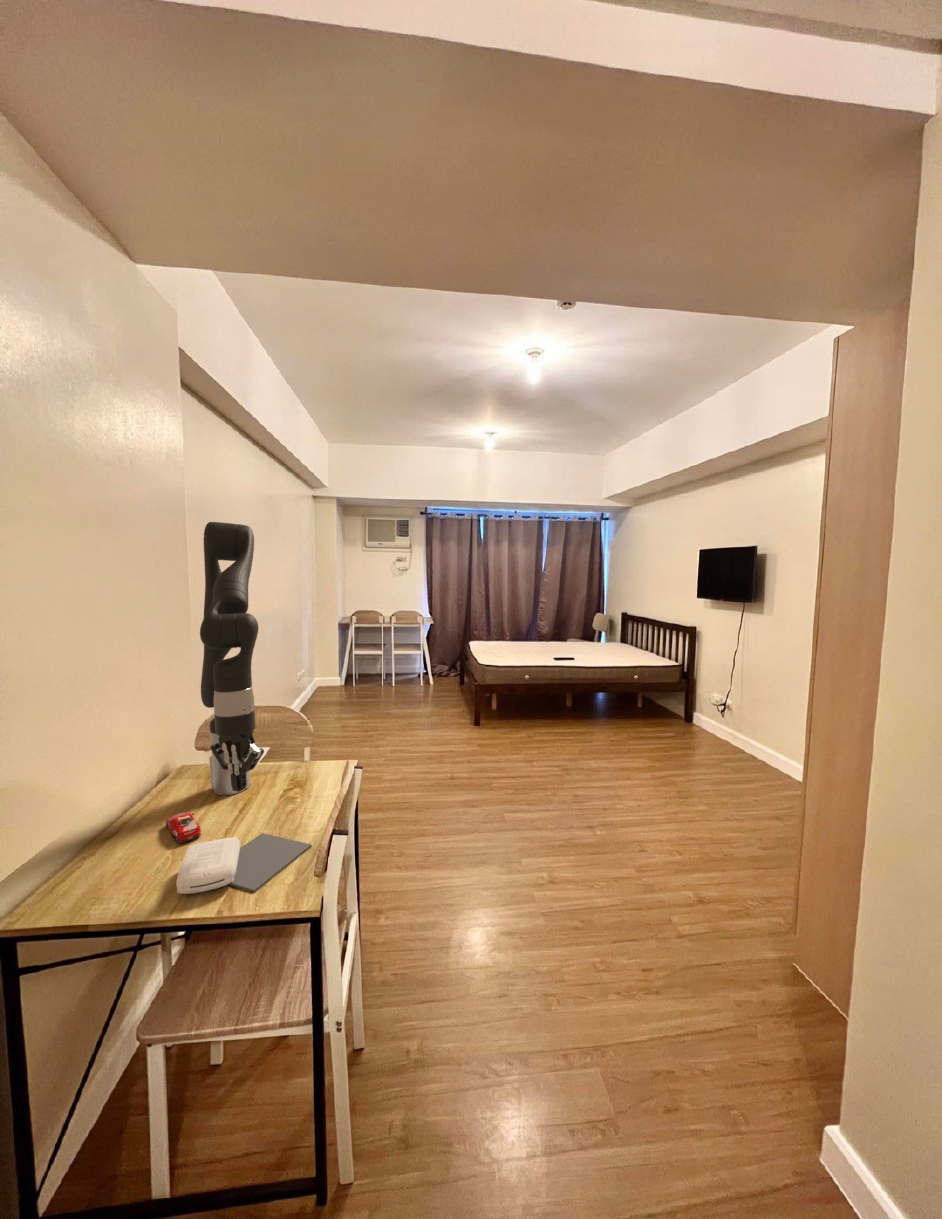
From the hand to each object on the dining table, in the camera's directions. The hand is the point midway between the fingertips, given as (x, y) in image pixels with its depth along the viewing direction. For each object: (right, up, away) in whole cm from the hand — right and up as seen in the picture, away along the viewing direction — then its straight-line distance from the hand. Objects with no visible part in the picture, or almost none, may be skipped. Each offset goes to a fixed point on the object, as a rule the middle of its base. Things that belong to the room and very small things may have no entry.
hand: (239, 789), depth 101 cm
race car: (-19, -15, +12) cm, 27 cm away
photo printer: (-5, -12, 0) cm, 13 cm away
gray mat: (+4, -15, 0) cm, 16 cm away
